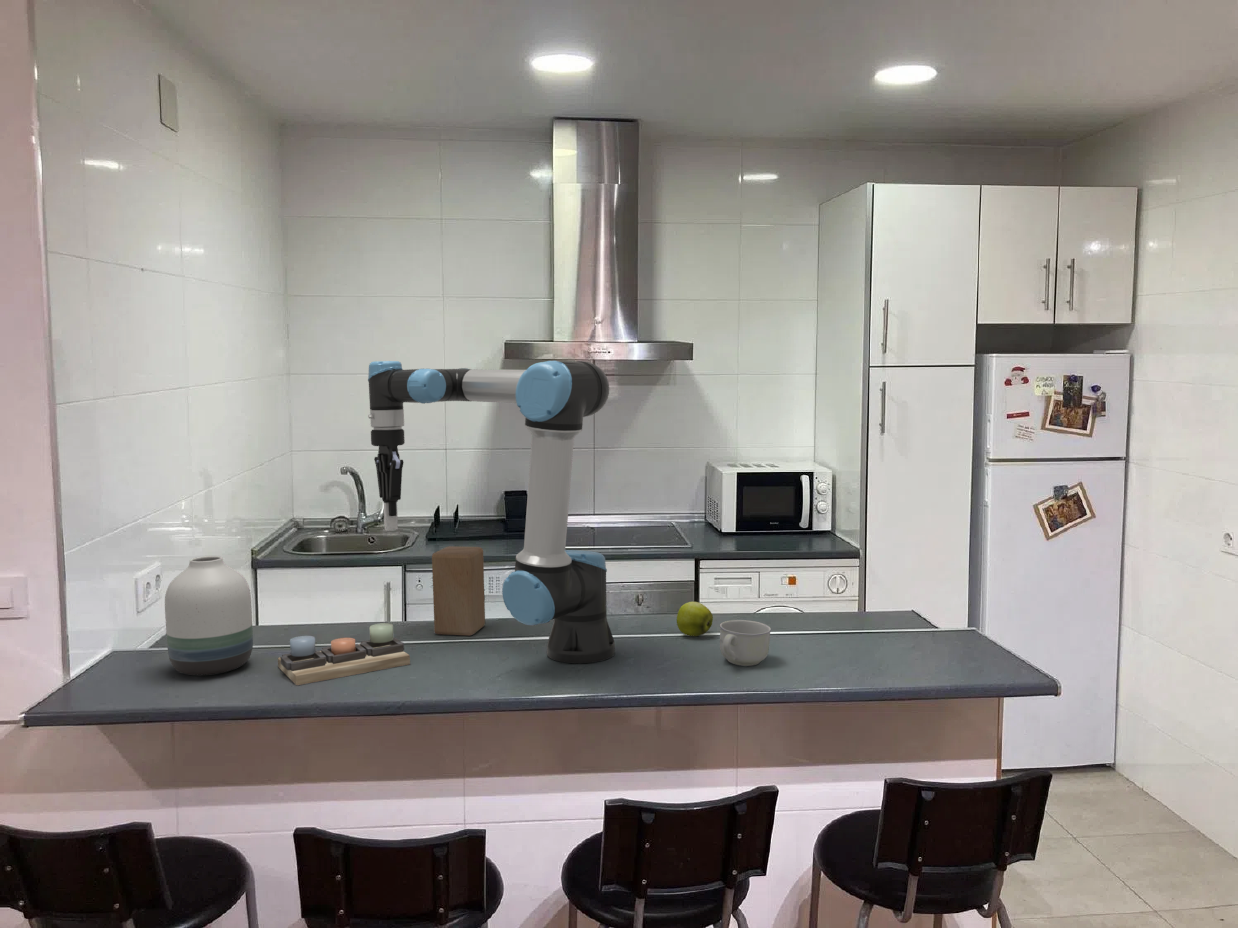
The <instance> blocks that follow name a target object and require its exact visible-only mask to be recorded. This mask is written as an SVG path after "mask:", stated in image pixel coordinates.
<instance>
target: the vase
mask: <svg viewBox="0 0 1238 928" xmlns="http://www.w3.org/2000/svg"><path fill="white" fill-rule="evenodd" d="M251 595H252V594H251V589H250V585H249V583H248V580H247V579H246V577H244V575H243V574H241V573H240V572H239V571H238V570H237V569H235V568H233V567H231V566H229V565H227V564H226V563H225V562H224V559H223V557H222V556H219V555H205V556H198V557H194V558H191V559H190V560H189V564H188V566H187V567H186V568H185V569H183V571H181V572H180V573H179V574H177V575H176V577H174V578H173V579H172V580H171V582H170V583H169V584H168V586H167V588H166V592H165V595H164V614H165V633H166V645H167V655H168V658H169V661H170V664H171V666H172V667H173V669H175V670H176V671H177V672H179V673H182V674H184V675H189V676H212V675H219V674H224V673H228V672H231V671H234V670H236V669H238V668H240V667H242V666H244V665H245V664H246V663H247V662H248V660H249V659H250V658H251V655H252V652H253V647H254V634H253V633H254V630H253V611H252V608H253V607H252V596H251Z"/></svg>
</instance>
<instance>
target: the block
mask: <svg viewBox="0 0 1238 928" xmlns="http://www.w3.org/2000/svg"><path fill="white" fill-rule="evenodd" d="M484 565H485V564H484V549H483V548H482V547H480V546H456V545H455V546H452V545H451V546H450V545H449V546H445V547H443V548H442V549H441V548H440V550H438V551H435V552H434V553H432V555H431V568H432V569H431V570H432V573H431V574H432V593H433V594H432V596H433V597H432V598H433V623H434V624H433V627H434V628H433V631H434V633H435V635H436V634H437V635H445V636H447V635H448V636H466V637H468V636H473V635H475V634H476V633H477V632H478V631H480V630H481V629H482V628H483V627H485V625H486V606H485V605H486V602H485V570H484Z"/></svg>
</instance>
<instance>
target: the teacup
mask: <svg viewBox="0 0 1238 928" xmlns="http://www.w3.org/2000/svg"><path fill="white" fill-rule="evenodd" d="M719 627H720V628H719V630H720V631H719V649H720V653H721V655H722V656H723V657H724V658H725V659H726V660H727V661H728V662H729V663H731V664H732V665H736V666H740V667H741V666H744V667H750V666H757V665H759V664H760V663H761V662H762V661H764V660H765V659H766V658H767V656H768V654H769V649H770V639H771V631H772V629H771V628H772V627H770V626H769V625H768V624H766V623H762V622H759V621H754V620H747V619H746V620H745V619H731V620H725V621H722V622H721V623H720V624H719Z"/></svg>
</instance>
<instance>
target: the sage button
mask: <svg viewBox="0 0 1238 928" xmlns="http://www.w3.org/2000/svg"><path fill="white" fill-rule="evenodd" d="M393 638H394V625H393V624H392V623H389V622H388V623H387V622H386V623H384V622H382V623H375V624H371V625H369V640H370V641H371V642H373V643H384V642H389V641H392V640H393Z"/></svg>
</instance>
